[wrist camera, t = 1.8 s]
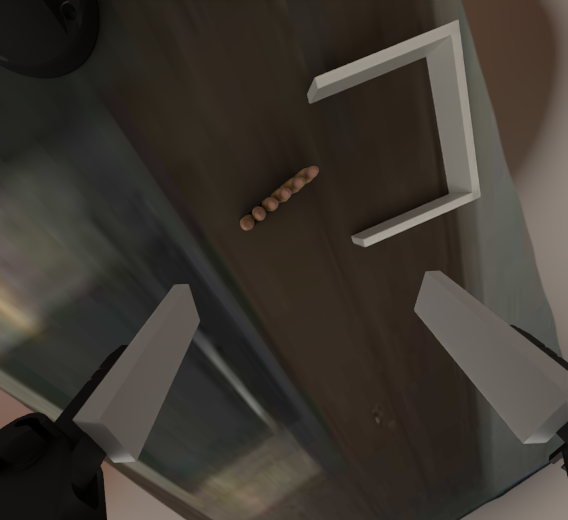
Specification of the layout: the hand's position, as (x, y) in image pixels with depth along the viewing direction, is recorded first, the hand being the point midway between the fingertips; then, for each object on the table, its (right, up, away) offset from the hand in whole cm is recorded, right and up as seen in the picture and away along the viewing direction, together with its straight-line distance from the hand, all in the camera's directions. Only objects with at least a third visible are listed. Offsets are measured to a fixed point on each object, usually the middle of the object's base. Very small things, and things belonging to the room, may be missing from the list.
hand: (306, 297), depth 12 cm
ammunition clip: (-3, +11, +20) cm, 23 cm away
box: (+14, +18, +20) cm, 31 cm away
